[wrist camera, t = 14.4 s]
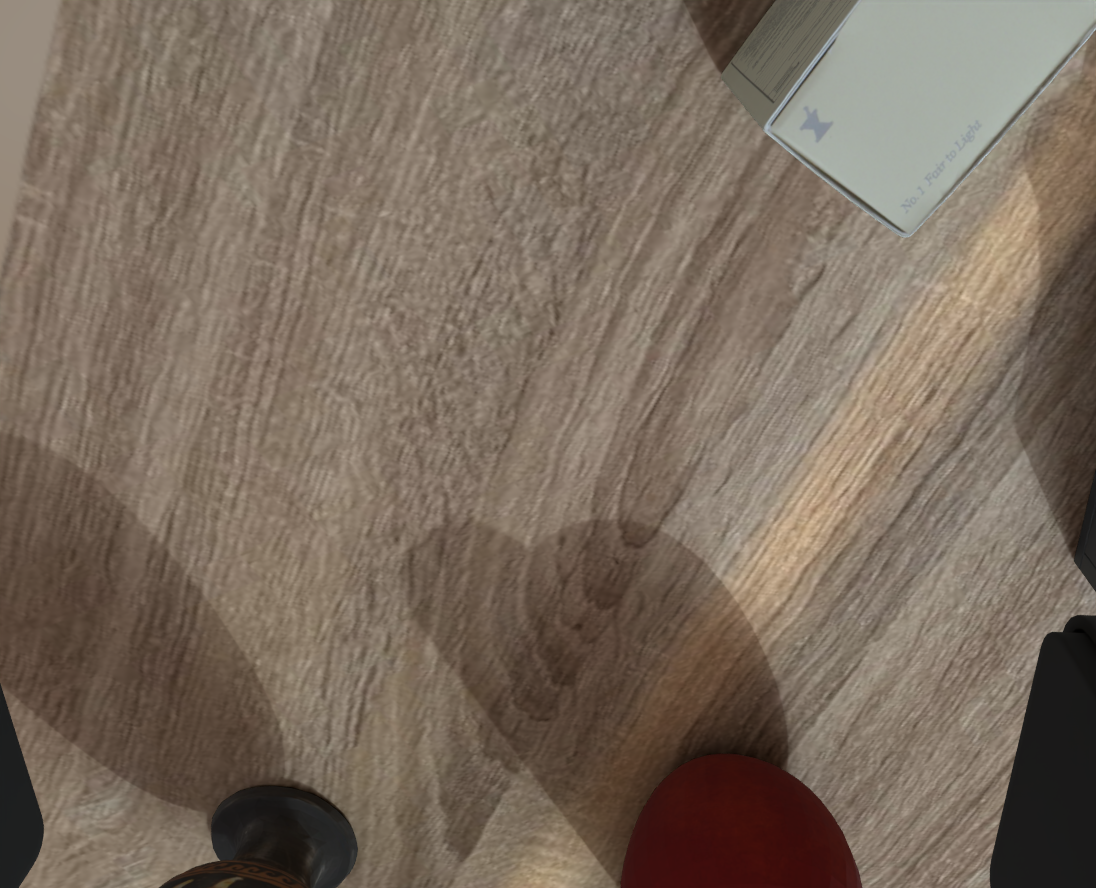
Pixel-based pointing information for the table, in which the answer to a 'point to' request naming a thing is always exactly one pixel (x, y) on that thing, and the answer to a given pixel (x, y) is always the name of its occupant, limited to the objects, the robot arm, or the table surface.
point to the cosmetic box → (901, 89)
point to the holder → (1088, 540)
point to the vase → (275, 843)
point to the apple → (736, 831)
